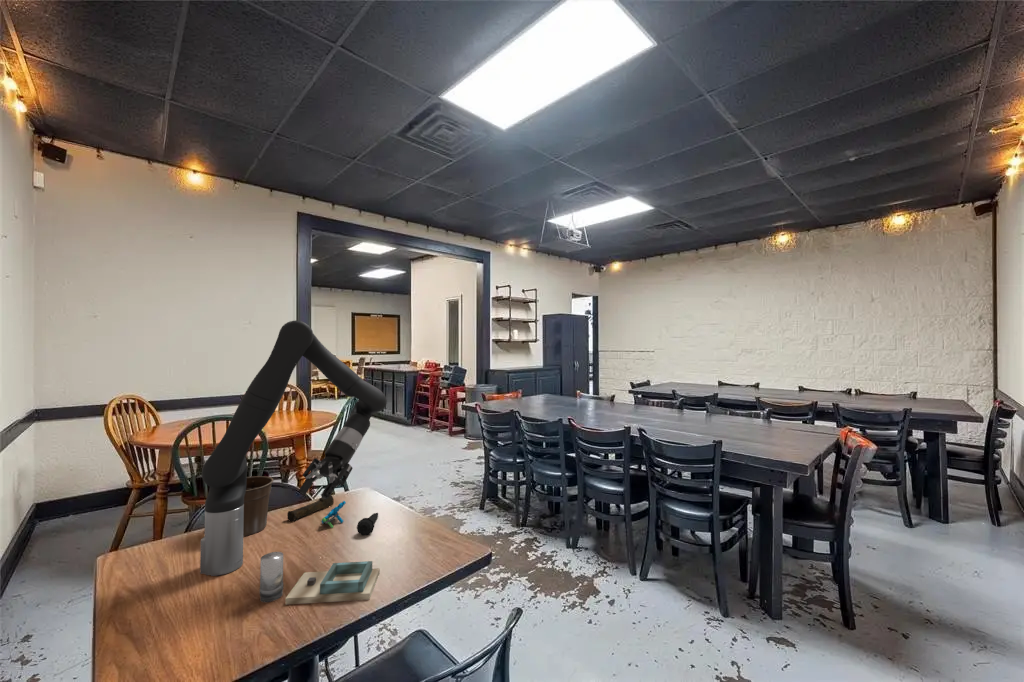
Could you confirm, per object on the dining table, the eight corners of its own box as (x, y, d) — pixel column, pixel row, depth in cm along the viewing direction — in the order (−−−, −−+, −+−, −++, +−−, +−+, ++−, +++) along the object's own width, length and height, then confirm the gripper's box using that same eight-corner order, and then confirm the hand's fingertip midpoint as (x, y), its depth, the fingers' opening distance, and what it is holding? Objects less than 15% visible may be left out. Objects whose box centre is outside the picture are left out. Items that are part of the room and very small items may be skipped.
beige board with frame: (285, 604, 102) (285, 588, 102) (304, 577, 114) (304, 563, 114) (369, 599, 104) (369, 583, 104) (379, 573, 116) (379, 559, 116)
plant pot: (241, 543, 134) (242, 493, 134) (205, 536, 139) (206, 488, 139) (283, 523, 149) (284, 478, 150) (249, 518, 154) (250, 474, 155)
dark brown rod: (293, 523, 150) (293, 510, 150) (286, 521, 152) (286, 508, 152) (337, 506, 167) (338, 494, 167) (331, 504, 169) (331, 493, 169)
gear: (333, 511, 157) (348, 495, 154) (344, 522, 156) (358, 507, 154) (312, 527, 146) (327, 510, 144) (323, 539, 146) (338, 523, 143)
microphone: (372, 523, 157) (357, 540, 138) (368, 508, 158) (352, 523, 138) (386, 518, 158) (373, 534, 138) (382, 503, 159) (369, 517, 139)
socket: (255, 603, 102) (256, 562, 103) (265, 591, 108) (266, 552, 108) (277, 601, 103) (278, 561, 103) (286, 589, 108) (287, 551, 108)
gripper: (320, 436, 128) (286, 485, 117) (355, 440, 122) (323, 492, 111) (334, 450, 132) (302, 498, 122) (368, 454, 126) (338, 505, 116)
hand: (312, 495), depth 116 cm, fingers open, 8 cm apart
